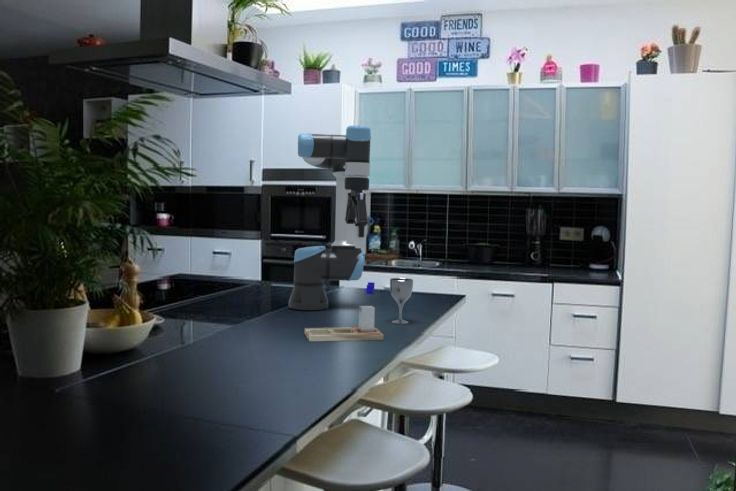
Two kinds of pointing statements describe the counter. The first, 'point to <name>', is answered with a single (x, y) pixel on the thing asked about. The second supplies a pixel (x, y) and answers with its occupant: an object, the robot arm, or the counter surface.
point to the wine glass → (401, 294)
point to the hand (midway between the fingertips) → (355, 246)
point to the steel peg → (366, 318)
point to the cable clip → (370, 288)
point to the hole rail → (341, 334)
